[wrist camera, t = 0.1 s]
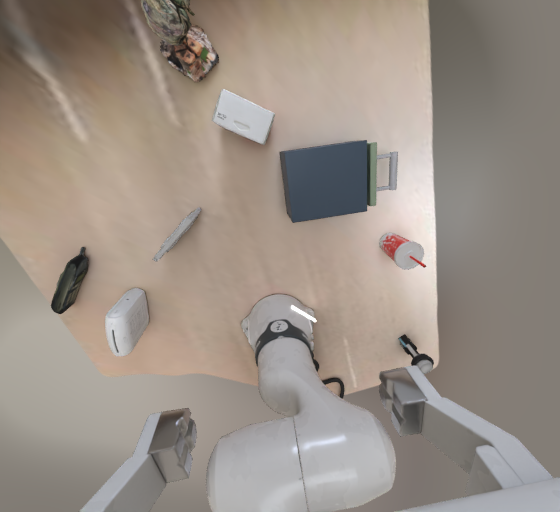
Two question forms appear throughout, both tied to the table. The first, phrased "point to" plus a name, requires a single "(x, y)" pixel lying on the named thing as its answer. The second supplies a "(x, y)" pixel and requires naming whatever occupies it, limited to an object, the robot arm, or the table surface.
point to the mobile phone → (69, 283)
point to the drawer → (371, 172)
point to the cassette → (177, 234)
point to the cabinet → (325, 180)
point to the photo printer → (127, 322)
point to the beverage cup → (402, 251)
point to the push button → (417, 356)
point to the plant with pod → (180, 37)
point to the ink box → (243, 117)
